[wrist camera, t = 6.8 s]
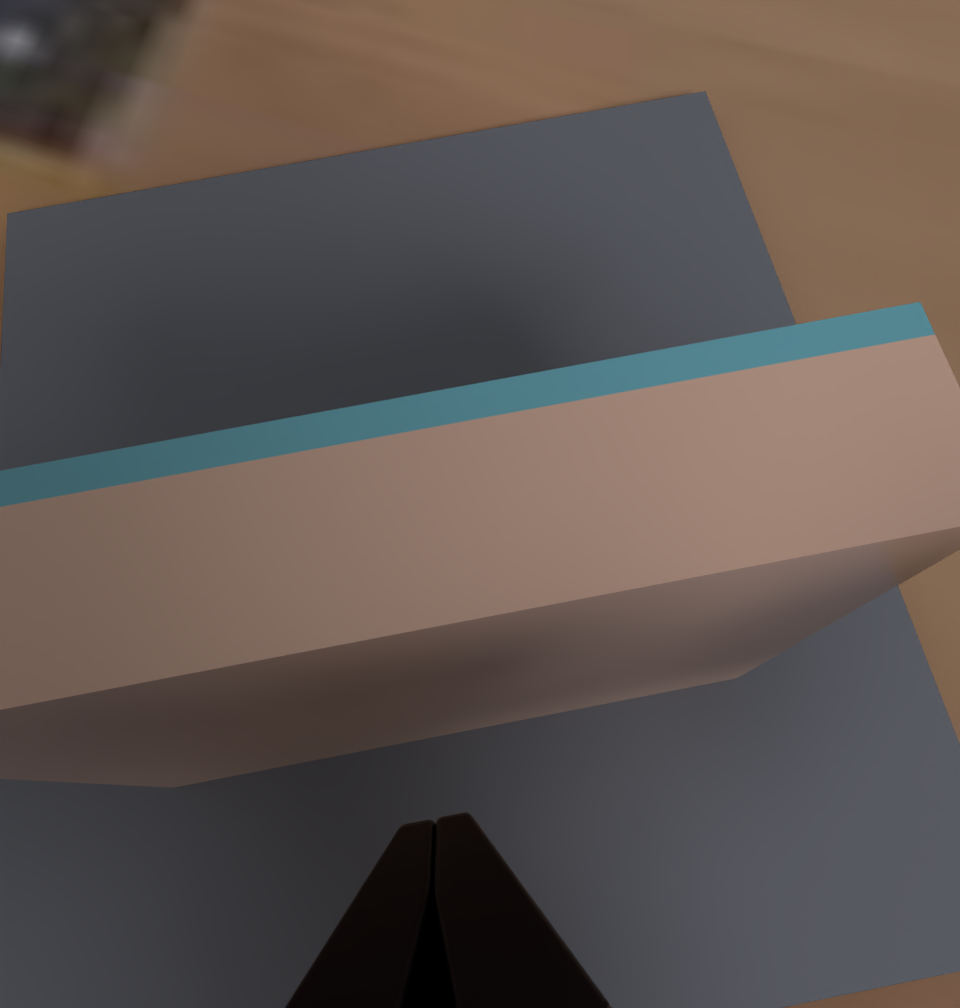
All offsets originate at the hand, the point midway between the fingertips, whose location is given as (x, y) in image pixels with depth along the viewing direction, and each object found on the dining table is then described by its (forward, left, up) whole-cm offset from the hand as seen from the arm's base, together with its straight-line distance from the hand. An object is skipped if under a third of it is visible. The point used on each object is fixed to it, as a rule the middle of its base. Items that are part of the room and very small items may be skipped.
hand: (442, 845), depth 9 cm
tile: (+3, +2, -7) cm, 8 cm away
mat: (+6, +3, -8) cm, 10 cm away
